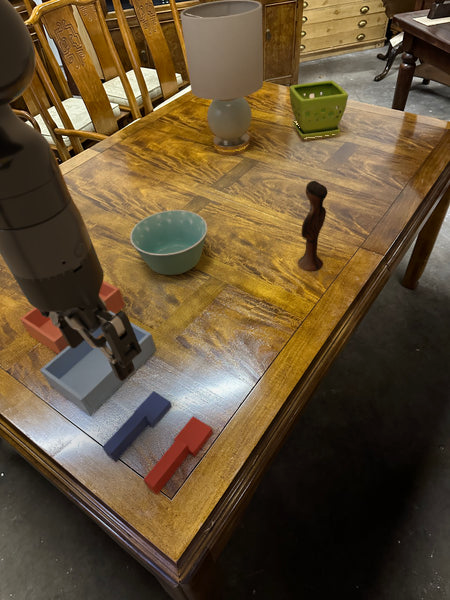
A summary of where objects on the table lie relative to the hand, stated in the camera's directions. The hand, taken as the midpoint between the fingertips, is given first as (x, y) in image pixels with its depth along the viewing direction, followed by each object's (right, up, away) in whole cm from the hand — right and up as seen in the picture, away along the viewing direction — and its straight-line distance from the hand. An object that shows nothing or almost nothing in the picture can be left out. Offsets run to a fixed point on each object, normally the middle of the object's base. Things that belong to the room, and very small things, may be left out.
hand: (101, 358), depth 49 cm
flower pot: (+42, +59, +80) cm, 108 cm away
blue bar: (+2, -12, +13) cm, 18 cm away
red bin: (-13, +3, +31) cm, 34 cm away
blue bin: (-6, -5, +22) cm, 23 cm away
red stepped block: (+8, -15, +9) cm, 20 cm away
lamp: (+17, +53, +78) cm, 96 cm away
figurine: (+32, +14, +37) cm, 51 cm away
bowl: (+4, +15, +41) cm, 44 cm away
